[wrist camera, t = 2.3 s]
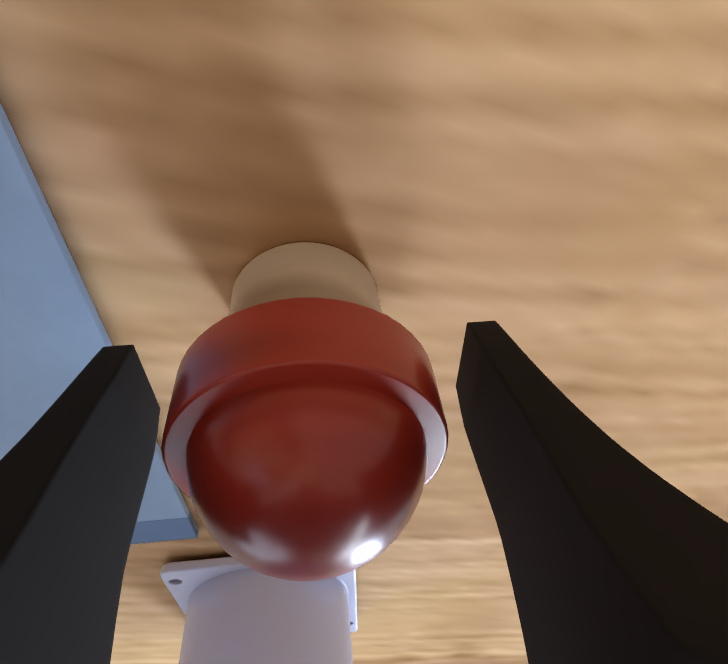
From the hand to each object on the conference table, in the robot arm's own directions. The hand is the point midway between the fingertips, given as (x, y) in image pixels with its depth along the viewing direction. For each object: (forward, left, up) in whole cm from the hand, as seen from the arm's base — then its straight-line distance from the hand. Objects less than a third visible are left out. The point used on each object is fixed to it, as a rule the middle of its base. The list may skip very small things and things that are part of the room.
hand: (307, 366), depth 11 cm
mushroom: (0, 0, -2) cm, 2 cm away
